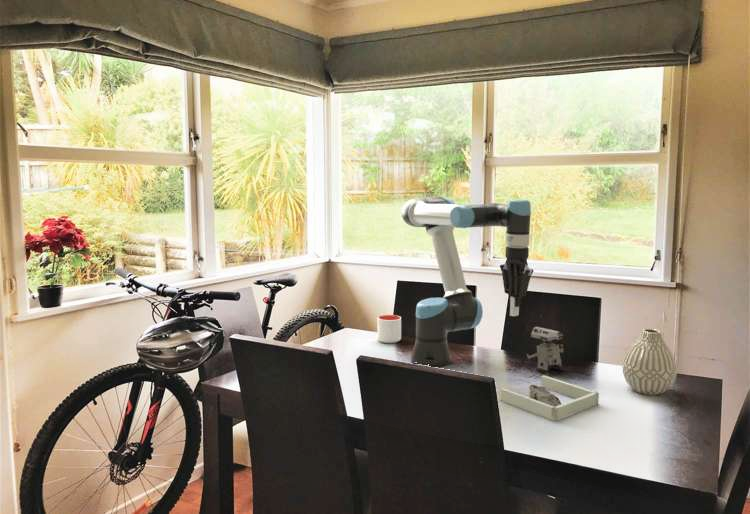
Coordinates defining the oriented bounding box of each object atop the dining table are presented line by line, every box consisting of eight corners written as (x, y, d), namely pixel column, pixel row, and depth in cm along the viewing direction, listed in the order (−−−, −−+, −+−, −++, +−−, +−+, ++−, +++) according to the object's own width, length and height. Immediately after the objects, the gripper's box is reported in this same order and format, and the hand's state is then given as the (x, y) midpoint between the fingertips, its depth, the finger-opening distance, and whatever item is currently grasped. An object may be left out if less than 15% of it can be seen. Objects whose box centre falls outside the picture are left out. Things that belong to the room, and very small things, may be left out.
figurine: (539, 363, 225) (541, 323, 223) (565, 371, 215) (567, 330, 213) (523, 367, 219) (524, 327, 217) (549, 376, 210) (550, 334, 208)
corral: (500, 400, 188) (500, 388, 187) (543, 385, 200) (543, 375, 200) (554, 421, 171) (555, 409, 171) (598, 404, 184) (598, 392, 184)
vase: (613, 391, 195) (616, 331, 193) (631, 378, 207) (635, 322, 204) (665, 403, 184) (669, 340, 182) (681, 390, 196) (685, 330, 193)
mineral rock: (565, 414, 176) (566, 400, 176) (538, 414, 177) (538, 400, 176) (552, 396, 191) (552, 383, 190) (527, 396, 191) (527, 383, 191)
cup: (375, 343, 252) (375, 319, 250) (379, 337, 262) (379, 314, 260) (399, 344, 250) (399, 320, 249) (402, 337, 260) (402, 315, 259)
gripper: (494, 244, 203) (492, 312, 207) (524, 249, 193) (521, 321, 196) (510, 243, 208) (507, 310, 211) (540, 247, 197) (536, 318, 201)
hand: (514, 315), depth 204 cm, fingers closed
